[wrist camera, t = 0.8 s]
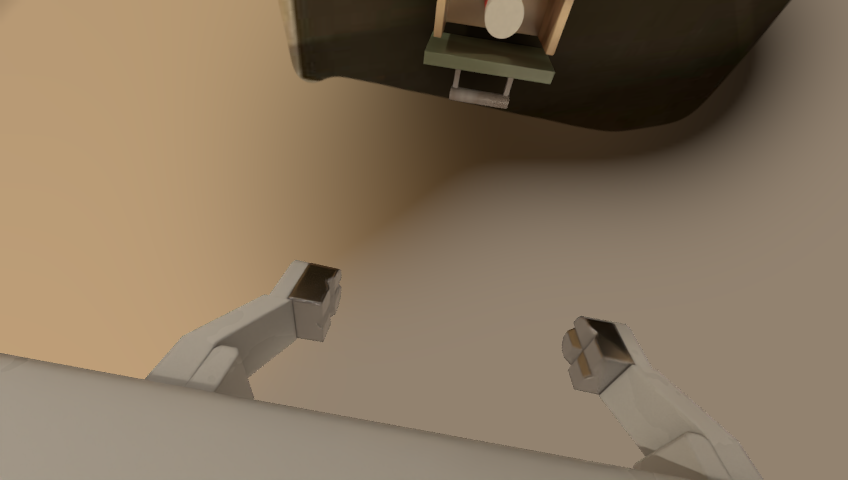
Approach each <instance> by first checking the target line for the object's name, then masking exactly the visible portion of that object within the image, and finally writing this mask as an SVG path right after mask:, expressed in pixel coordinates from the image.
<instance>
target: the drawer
mask: <svg viewBox="0 0 848 480" xmlns="http://www.w3.org/2000/svg"><path fill="white" fill-rule="evenodd" d="M573 2H574V0H522V3H523V6H524V18H523V21H522V24H521V26H520V27H519V29H518V30H517V31H516V32H515V33H520V34H527V35H533V36H538V38H539V40H540V42H541V45H542V47H543V48H537V47H531V46H525V45H518V44H512V43H506V42H500V41H493V40H487V39H481V38H475V37H468V36H462V35H456V34H449V33H443V30H444V27H445V24H446V22H451V23H457V24H464V25H470V26H476V27H482V28H486V26H485V13H484V0H437V7H436V16H435V25H434V31H433V32H432V35H431V37H430V40H429V42H428V44H427V47H426V49H425V52H424V64H428V65H434V66H440V67H446V68H453V69H456V70H455V76H454V82H453V86H451V89H450V95H449V100H454V101H460V102H467V103H473V104H479V105H485V106H491V107H497V108H504V109H506V108H507V106H508V103H509V99H510V96H509V92H510V89H511V86H512V82H513V79H514V78H515V79H521V80H527V81H534V82H540V83H546V84H551V81H552V79H553V76H554V74H555V71H554V69H553V66H552V64H551V62H550V60H549V57H548V55H554V53H555V50H556V47H557V44H558V42H559V39H560V36H561V34H562V31H563V28H564V26H565V23H566V20H567V18H568V15H569V12H570V10H571V7H572V4H573ZM461 70H465V71H471V72H478V73H484V74H490V75H496V76H502V77H508V78H507V82H506V85H505V89H504V92H503V94H499V93H492V92H486V91H480V90H474V89H468V88H461V87H458V83H459V77H460V72H461Z"/></svg>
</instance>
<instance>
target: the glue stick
mask: <svg viewBox="0 0 848 480" xmlns="http://www.w3.org/2000/svg"><path fill="white" fill-rule="evenodd" d="M484 13H485V26H486V29H487V31H488V32H489V33H490V34H491V35H492V36H493V37H495V38H498V39H504V38H508V37H510V36H512V35H513V34H514V33H515V32H516V31H517V30H518V29H519V27H520V26H521V24H522V21H523V18H524V6H523V3H522V0H484Z"/></svg>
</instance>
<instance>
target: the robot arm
mask: <svg viewBox="0 0 848 480" xmlns="http://www.w3.org/2000/svg"><path fill="white" fill-rule="evenodd" d="M340 280H341V270H340V269H336V268H332V267H327V266H323V265H318V264H313V263H307V262H303V261H298V260H295V261H293V262H292V263H291V265H290V266H289V267H288V269H287V270H286V272H285V273H284V275H283V276H282V278H281V279H280V280H279V282H278V283H277V285H276V286H275V287H274V289H273V290H272V292H271V293H270V295H262V296H260V297H259V298H257V299H255V300H253V301H251V302H249V303H247V304H245V305H243V306H241V307H239V308H237V309H235V310H233V311H231V312H229V313H227V314H225V315H223V316H221V317H219V318H217V319H215V320H213V321H211V322H209V323H207V324H205V325H204V326H201V327H199V328H198V329H195V330H194V331H192V332H190V333H188V334H186V335H184V336H182V337H181V338H180V340H179V341H178V342H177V343H176V344H175V345H174V346H173V348H172V349H171V350H170V351H169V352H168V353H167V354H166V356H165V357H164V358H163V359H162V360H161V361H160V363H159V364H158V365H157V366H156V367H155V368H154V369H153V370H152V371H151V373H150V374H149V375H148V376H147V377H146V378H145V379H138V378H132V377H127V376H121V375H116V374H110V373H105V372H100V371H94V370H89V369H83V368H78V367H72V366H67V365H62V364H56V363H50V362H45V361H40V360H35V359H29V358H23V357H18V356H13V355H8V354H2V353H0V480H763V478H762V477H761V475H760V474H759V472H758V470H757V469H756V467H755V466H754V464H753V463H752V461H751V460H750V458H749V457H748V455H747V454H746V452H745V451H744V449H743V447H742V446H741V444H740V443H739V442H738V440H737V439H736V438H734V436H732V435H731V434H730V433H729V432H728V431H727V430H726V429H724V428H723V427H722V426H721V425H720V424H719V423H718V422H716V421H715V420H714V419H713V418H712V417H711V416H710V415H708V414H707V413H706V412H705V411H704V410H703V409H702V408H700V407H699V406H698V405H697V404H696V403H695V402H693V401H692V400H691V399H690V398H689V397H688V396H687V395H685V394H684V393H683V392H682V391H681V390H680V389H679V388H678V387H676V386H675V385H674V384H673V383H672V382H671V381H670V380H668V379H667V378H666V377H665V376H664V375H663V374H662V373H660V372H659V371H658V370H656V369H653V368H652V367H651V365H650V363H649V361H648V359H647V358H646V356H645V354H644V352H643V350H642V349H641V347H640V345H639V343H638V341H637V339H636V338H635V336H634V334H633V332H632V330H631V329H630V327H629V326H627V325H626V324H622V323H617V322H609V321H606V320H600V319H595V318H589V317H584V316H580V317H578V318H577V319H576V320H575V321H574V326H575V328H573V329H571V330H569V331H567V332H566V334H565V335H564V337H563V342H562V351H563V355H564V358H565V359H566V360H567V361H568V362H569V364H570V367H569V369H568V371H569V375H570V378H571V381H572V384H573V387H574V389H575V390H580V391H584V392H589V393H594V394H599V397H600V398H601V399H602V401H603V402H604V403H605V405H606V406H607V407H608V408H609V410H610V411H611V412H612V414H613V415H614V416H615V417H616V419H617V420H618V421H619V423H620V424H621V425H622V427H623V428H624V429H625V430H626V432H627V433H628V434H629V436H631V438H632V439H633V441H634V442H635V443H636V445H637V446H638V447H639V449H640V450H641V451H642V452H643V454H644V455H645V456H646V457H645V458H643V459H641V460H640V461H638V462H636V463H635V465H634V466H633V468H634V469H631V468H625V467H620V466H615V465H609V464H604V463H598V462H593V461H587V460H582V459H576V458H571V457H565V456H559V455H555V454H548V453H543V452H538V451H533V450H527V449H522V448H516V447H511V446H506V445H505V446H504V445H500V444H495V443H488V442H484V441H478V440H472V439H467V438H462V437H456V436H451V435H445V434H440V433H434V432H429V431H423V430H417V429H412V428H407V427H401V426H396V425H390V424H385V423H379V422H374V421H368V420H363V419H357V418H352V417H346V416H341V415H336V414H330V413H325V412H319V411H314V410H308V409H303V408H297V407H292V406H286V405H280V404H275V403H270V402H264V401H259V400H253V399H254V396H253V393H252V390H251V387H250V384H249V381H248V377H250V376H251V375H252V374H253V373H255V372H256V371H257V370H258V369H260V368H261V367H262V366H264V365H265V364H266V363H267V362H269V361H270V360H271V359H272V358H274V357H275V356H276V355H277V354H279V353H280V352H281V351H283V350H284V349H285V348H286V347H288V346H289V345H290V344H291V343H293V342H294V341H295V340H296V339H297V338H301V339H308V340H315V341H320V342H323V341H324V339H325V337H326V334H327V332H328V330H329V327H330V317H331V316H333V315H335V313H336V311H337V308H338V305H339V301H340V297H341V286H340V285H339V282H340Z"/></svg>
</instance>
